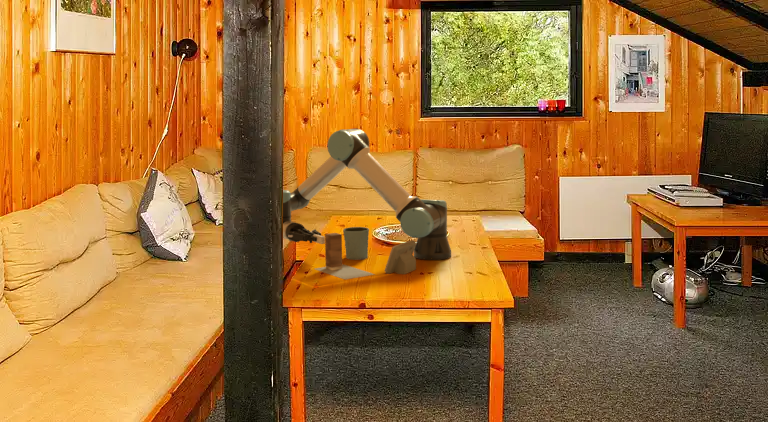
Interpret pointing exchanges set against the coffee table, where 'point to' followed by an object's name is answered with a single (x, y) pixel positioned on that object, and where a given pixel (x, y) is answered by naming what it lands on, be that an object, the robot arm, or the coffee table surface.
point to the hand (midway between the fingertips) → (323, 240)
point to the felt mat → (345, 272)
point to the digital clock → (401, 258)
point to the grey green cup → (356, 242)
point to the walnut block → (333, 251)
